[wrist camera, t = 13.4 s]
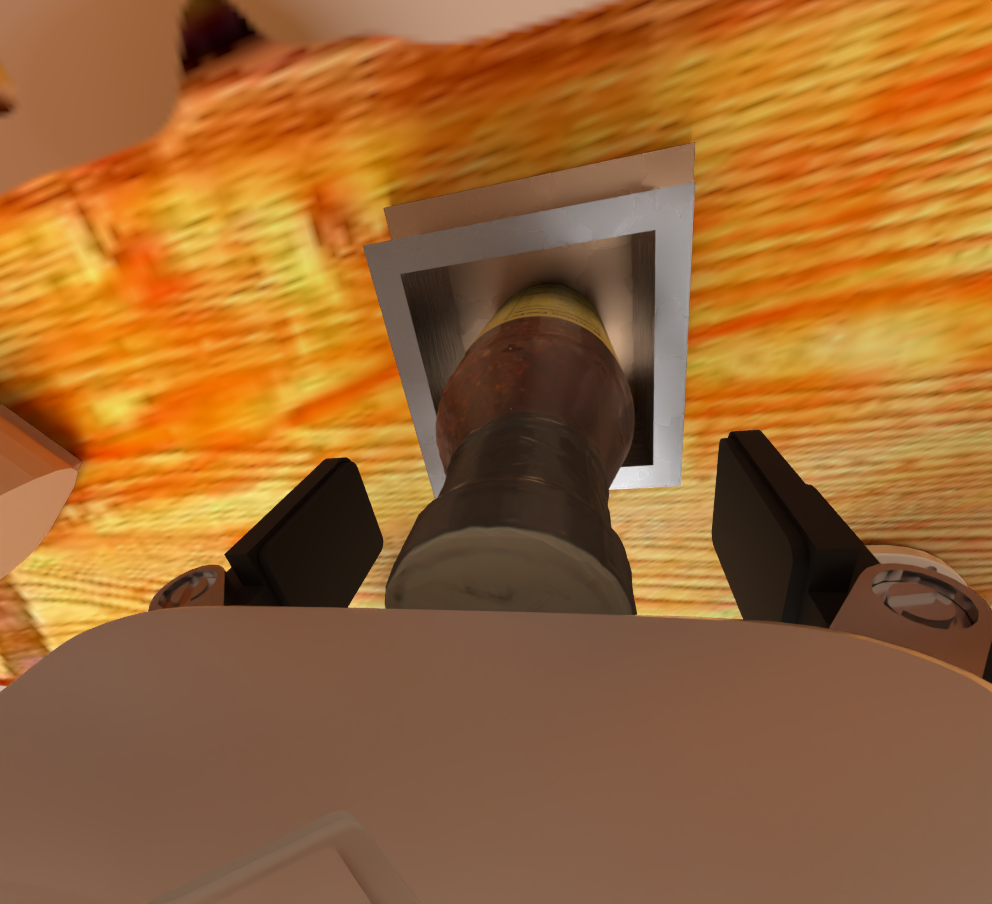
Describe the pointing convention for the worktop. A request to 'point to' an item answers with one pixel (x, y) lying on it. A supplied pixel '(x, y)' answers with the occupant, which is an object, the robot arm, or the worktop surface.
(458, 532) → the sauce bottle
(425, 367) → the grey square open box
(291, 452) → the worktop surface
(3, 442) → the alarm clock
